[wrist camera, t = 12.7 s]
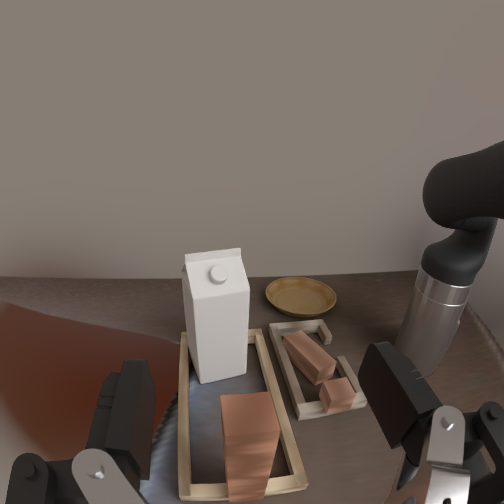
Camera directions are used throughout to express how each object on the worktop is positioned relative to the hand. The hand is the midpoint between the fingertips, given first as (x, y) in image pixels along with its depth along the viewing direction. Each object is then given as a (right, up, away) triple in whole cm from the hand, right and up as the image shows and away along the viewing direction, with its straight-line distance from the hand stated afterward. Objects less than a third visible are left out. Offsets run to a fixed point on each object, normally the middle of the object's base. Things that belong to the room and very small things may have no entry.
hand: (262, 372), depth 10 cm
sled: (-3, -16, +26) cm, 30 cm away
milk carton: (-6, -13, +34) cm, 37 cm away
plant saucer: (+10, -7, +51) cm, 53 cm away
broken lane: (+9, -14, +33) cm, 37 cm away
